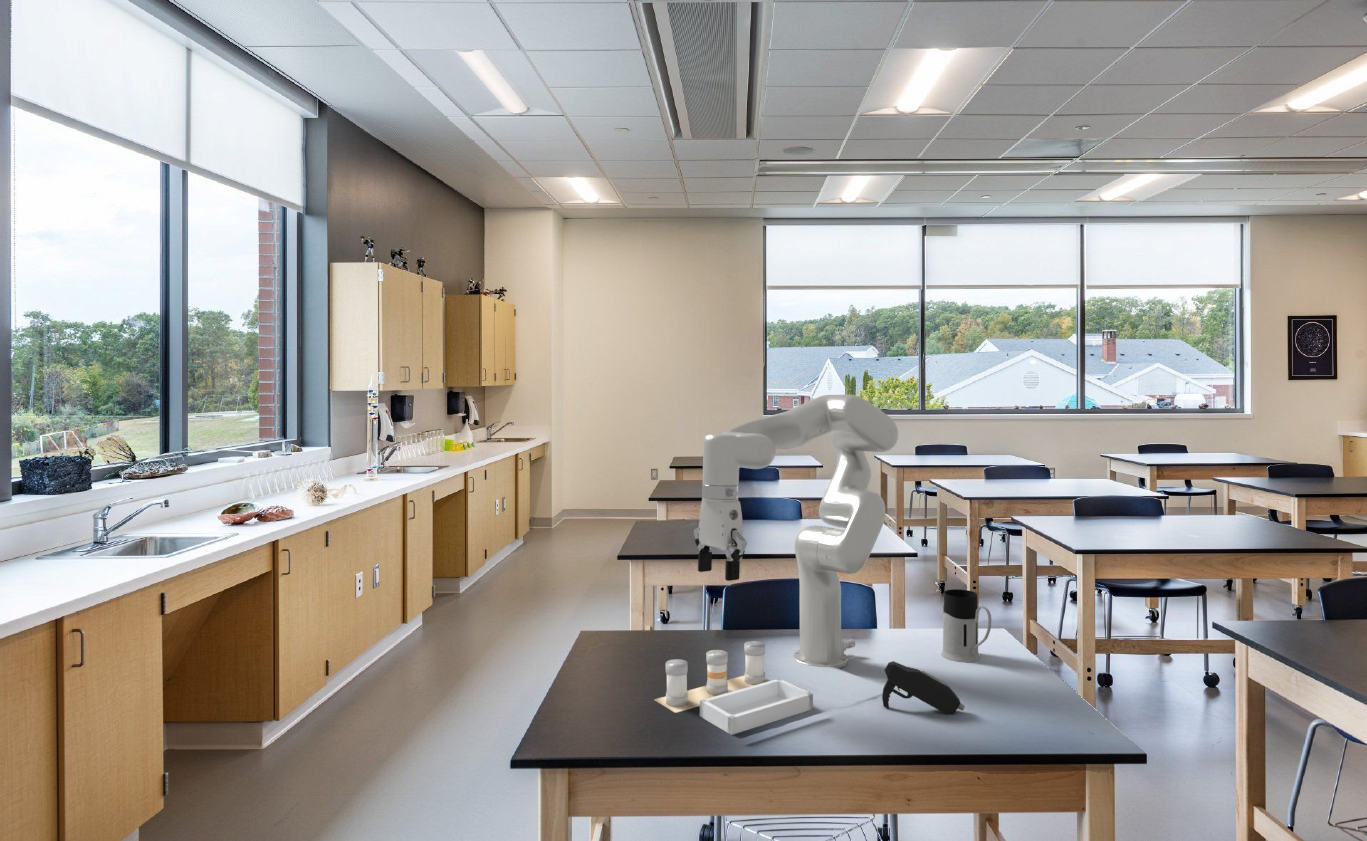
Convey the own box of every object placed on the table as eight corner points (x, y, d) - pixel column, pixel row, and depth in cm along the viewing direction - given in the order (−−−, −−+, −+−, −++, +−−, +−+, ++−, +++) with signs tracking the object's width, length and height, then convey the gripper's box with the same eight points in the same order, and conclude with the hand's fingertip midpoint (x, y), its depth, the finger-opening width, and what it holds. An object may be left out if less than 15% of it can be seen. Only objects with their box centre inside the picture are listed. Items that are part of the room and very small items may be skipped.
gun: (945, 743, 152) (970, 699, 151) (870, 700, 155) (894, 657, 153) (944, 737, 155) (968, 694, 154) (869, 695, 157) (893, 652, 156)
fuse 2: (756, 676, 171) (756, 639, 170) (769, 682, 167) (769, 645, 167) (740, 680, 168) (740, 643, 168) (753, 686, 165) (753, 649, 164)
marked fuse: (719, 686, 165) (719, 648, 165) (732, 692, 161) (731, 654, 161) (702, 690, 163) (702, 652, 162) (714, 697, 159) (714, 658, 159)
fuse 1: (680, 696, 160) (679, 657, 159) (692, 703, 156) (691, 664, 156) (661, 701, 157) (661, 662, 157) (673, 708, 153) (673, 668, 153)
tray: (779, 697, 161) (779, 678, 161) (813, 714, 153) (812, 693, 153) (699, 721, 150) (699, 700, 150) (731, 740, 142) (731, 718, 141)
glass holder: (962, 648, 191) (962, 587, 190) (1005, 667, 178) (1005, 601, 177) (933, 652, 188) (933, 590, 187) (974, 672, 174) (974, 605, 174)
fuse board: (754, 677, 173) (754, 672, 173) (777, 688, 166) (777, 683, 166) (653, 704, 158) (653, 699, 158) (675, 717, 152) (675, 712, 152)
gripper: (760, 496, 157) (758, 581, 157) (710, 488, 172) (708, 566, 172) (730, 498, 153) (728, 585, 153) (682, 489, 167) (680, 569, 168)
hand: (718, 575), depth 162 cm, fingers open, 9 cm apart
